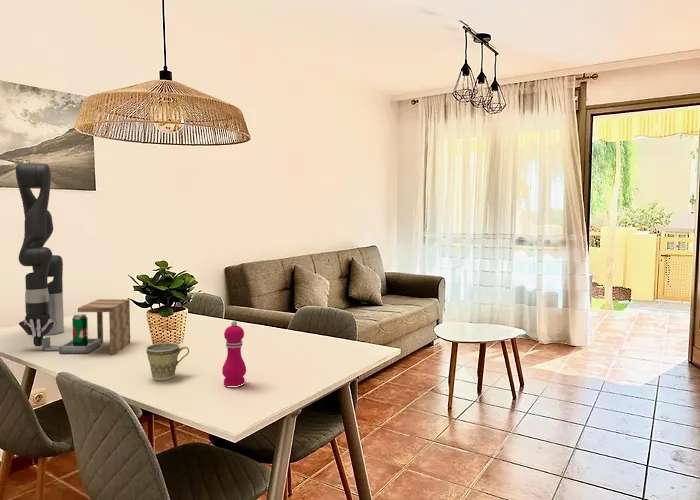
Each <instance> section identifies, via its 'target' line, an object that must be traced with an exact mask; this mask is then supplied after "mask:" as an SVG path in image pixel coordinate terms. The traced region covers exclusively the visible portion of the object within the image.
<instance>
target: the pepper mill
mask: <svg viewBox="0 0 700 500" xmlns="http://www.w3.org/2000/svg"><path fill="white" fill-rule="evenodd" d="M223 336H224V339H225V347H226V348H227V349H226V350H227V353H226V354H227V355H226V359H225V361H224V363H223V366H222V371H221V372H222V375H223V377H224V379H223V386H224V385H226V386H238V385H241V384H243V383H244V382H245V381H246V379H245V377H244V376H245V374H246V373H247V366H246V363H245V361H244V359H243V356H242V347H243V341H242V340H243V338H244V337H245V331H244V328H243V327H241V326H240V325H238V322H237V320H232V321H231V323H230V326H227V327H226V329H225V330H224V333H223Z"/></svg>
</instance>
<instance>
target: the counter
mask: <svg viewBox="0 0 700 500" xmlns="http://www.w3.org/2000/svg"><path fill="white" fill-rule="evenodd" d="M130 311H131V308H130V299H119V298H118V299H117V298H115V299H113V298H111V299H109V298H107V299H106V298H104V299H103V298H102V299H100V298H99V299H95V300H93V301H91V302H89V303H86V304H84V305H81V306H79V307H77V313H96V323H97V325H96V330H97V334H96V335H97V339H101V345H102V344H103V343H104V326H103V323H104V322H103V321H104V320H103V319H104V316H103V313H108V314H109V315H108V316H109V318H108V319H109V324H108V325H109V355H110V356H115V354H117V353H119V351H121V350H123V348H125V347H127V345H129V344H130V343H131V315H130V314H131V312H130Z"/></svg>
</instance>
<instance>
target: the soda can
mask: <svg viewBox="0 0 700 500" xmlns="http://www.w3.org/2000/svg"><path fill="white" fill-rule="evenodd" d="M88 324H89V323H88V317H87V314H83V313H81V314H74V315H73V317H72V324H71V325H72V340H73V346H87V345H88V339H89V327H88V326H89V325H88Z"/></svg>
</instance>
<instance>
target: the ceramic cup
mask: <svg viewBox="0 0 700 500" xmlns="http://www.w3.org/2000/svg"><path fill="white" fill-rule="evenodd" d="M184 349H187V353H186V354H185V355H183V356H182V357H181V358H180V359H179V360H178V356H179V354H180V353H181V352H182V351H183V350H184ZM145 350H146V355H147V360H148V362H149V366H150V373H151V377H152V380H153V381H157V380H159V381H158V382H162V381H161V380H163V381H169V380H172V379H174V378H175V374H176V369H177V366H178V365H179V363H180V362H182V360H183V359H185V357H187V356H188V355H189V354H190V349H189V347H187V346H182V347H180V344H178V343H175V342H159V343H153V344H151V345H148V346H146V347H145ZM173 377H174V378H173ZM171 378H172V379H171Z"/></svg>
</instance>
